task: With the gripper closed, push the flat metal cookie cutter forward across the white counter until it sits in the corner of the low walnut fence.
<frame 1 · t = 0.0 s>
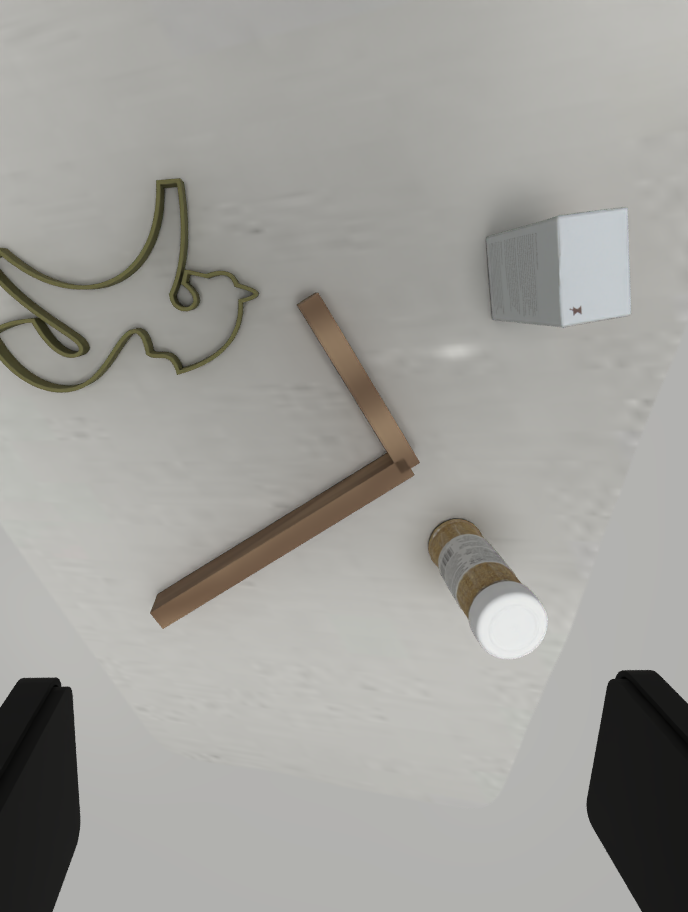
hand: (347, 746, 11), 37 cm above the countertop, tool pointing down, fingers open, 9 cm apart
cookie cutter: (124, 301, 44), on the countertop
sprinkles bottle: (453, 542, 51), on the countertop
walnut fence: (228, 453, 47), on the countertop
skincare box: (514, 274, 46), on the countertop
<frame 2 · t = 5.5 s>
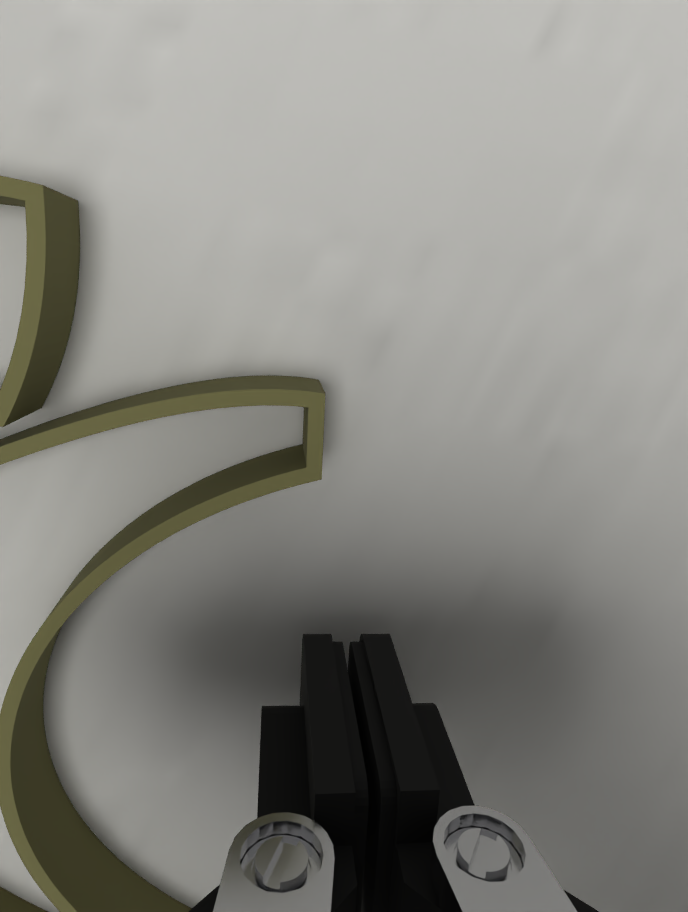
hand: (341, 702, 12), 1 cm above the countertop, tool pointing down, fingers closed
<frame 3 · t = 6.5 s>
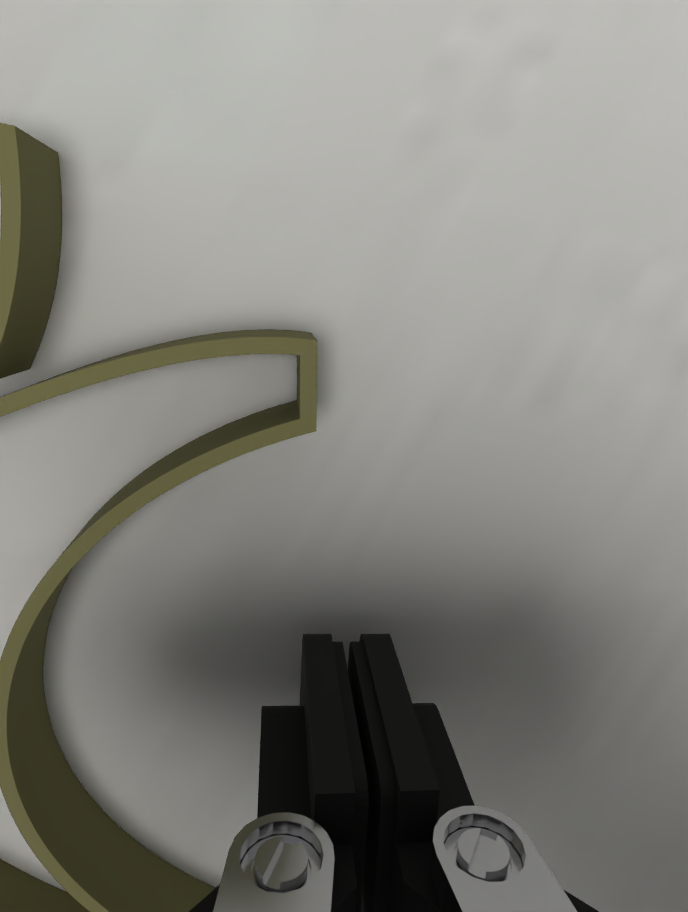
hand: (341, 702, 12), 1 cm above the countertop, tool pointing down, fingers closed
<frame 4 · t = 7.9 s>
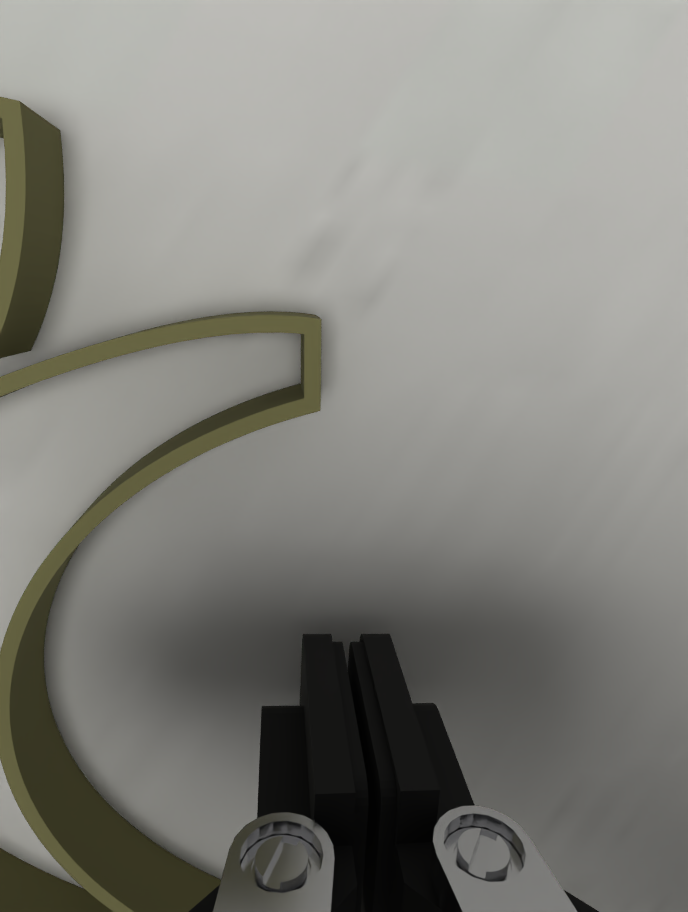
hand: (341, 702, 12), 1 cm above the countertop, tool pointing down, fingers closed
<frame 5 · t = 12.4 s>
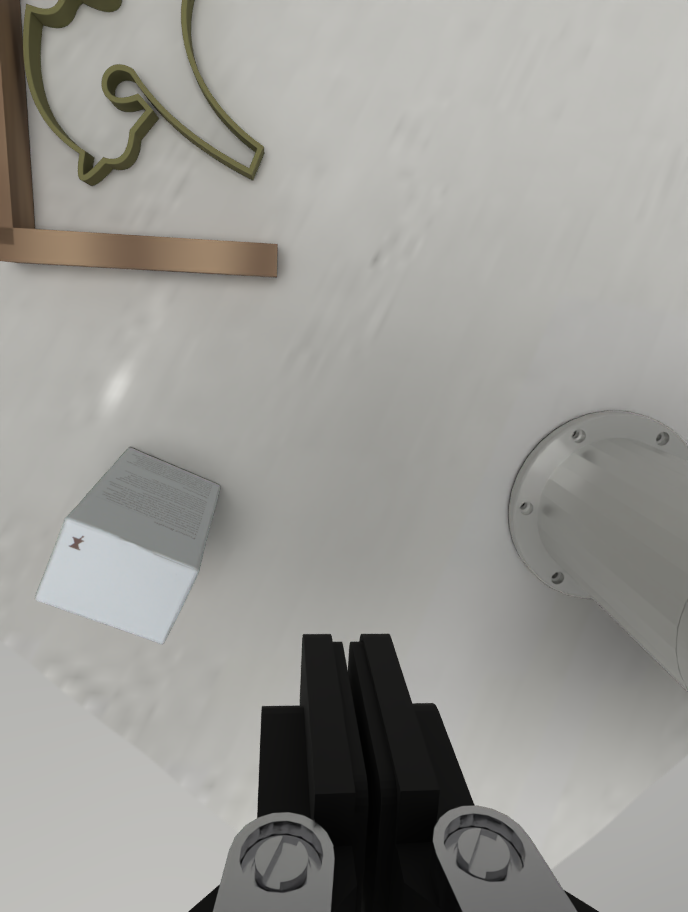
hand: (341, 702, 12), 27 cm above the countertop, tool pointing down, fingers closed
cookie cutter: (164, 14, 33), on the countertop
walnut fence: (154, 30, 32), on the countertop
skincare box: (164, 494, 39), on the countertop
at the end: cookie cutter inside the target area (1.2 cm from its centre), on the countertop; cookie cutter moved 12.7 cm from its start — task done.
